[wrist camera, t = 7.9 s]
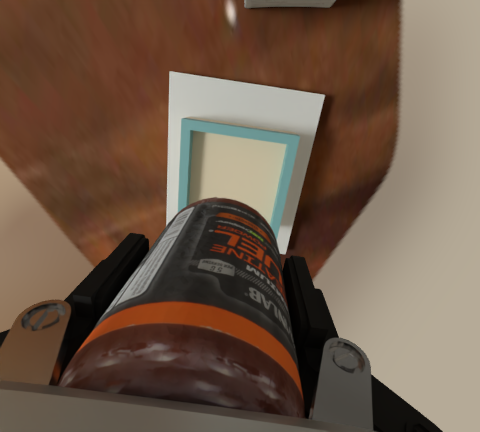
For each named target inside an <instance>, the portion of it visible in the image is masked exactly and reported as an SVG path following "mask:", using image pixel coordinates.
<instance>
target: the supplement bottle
mask: <svg viewBox="0 0 480 432" xmlns="http://www.w3.org/2000/svg"><path fill="white" fill-rule="evenodd" d="M57 386H59V387H67V388H75V389H83V390H91V391H99V392H107V393H115V394H124V395H131V396H139V397H147V398H155V399H163V400H170V401H178V402H186V403H193V404H201V405H209V406H216V407H224V408H231V409H239V410H246V411H253V412H261V413H268V414H276V415H283V416H290V417H298V418H304V419H306V417H305V407H304V400H303V394H302V388H301V381H300V374H299V367H298V361H297V356H296V349H295V345H294V338H293V332H292V326H291V320H290V316H289V309H288V304H287V298H286V292H285V285H284V278H283V271H282V265H281V257H280V253H279V249H278V244H277V240H276V238H275V235H274V232H273V230H272V228H271V227H270V225H269V224H268V222H267V221H266V219H265V218H264V217H263V216H262V215H261V214H260V213H259V212H258V211H257V210H255V209H253V208H252V207H250V206H248V205H247V204H244V203H242V202H239V201H236V200H232V199H227V198H217V197H213V198H207V199H202V200H199V201H197V202H194V203H192V204H190V205H188V206H186V207H185V208H183V209H182V210H181V211H179V212H178V213H177V214H176V215H175V216H174V218H173V219H172V220H171V221H170V222H169V223H168V225H167V226H166V228H165V229H164V230H163V232H162V233H161V235H160V236H159V238H158V239H157V240H156V242H155V243H154V245H153V246H152V247H151V249H150V250H149V252H148V253H147V254H146V256H145V257H144V259H143V260H142V261H141V263H140V264H139V266H138V267H137V268H136V270H135V271H134V273H133V274H132V275H131V277H130V278H129V280H128V281H127V282H126V284H125V285H124V287H123V288H122V289H121V291H120V292H119V293H118V295H117V296H116V298H115V299H114V301H113V302H112V303H111V305H110V306H109V308H108V309H107V310H106V312H105V313H104V314H103V316H102V317H101V318H100V320H99V321H98V323H97V324H96V325H95V327H94V329H93V331H92V332H91V334H90V335H89V336H88V337H87V339H86V340H85V341H84V343H83V344H82V345H81V347H80V348H79V350H78V351H77V352H76V354H75V355H74V357H73V358H72V360H71V361H70V363H69V364H68V366H67V368H66V369H65V371H64V372H63V374H62V376H61V378H60V380H59V382H58V384H57Z"/></svg>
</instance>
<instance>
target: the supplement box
mask: <svg viewBox="0 0 480 432" xmlns="http://www.w3.org/2000/svg"><path fill="white" fill-rule="evenodd" d="M244 1H245V8H257V7H326V8H329V7H331V6H332V5H333V3H334V2H335V1H336V0H244Z"/></svg>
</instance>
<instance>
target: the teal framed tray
mask: <svg viewBox="0 0 480 432" xmlns="http://www.w3.org/2000/svg"><path fill="white" fill-rule="evenodd" d="M324 97H325V95H323V94H316V93H309V92H303V91H296V90H290V89H283V88H277V87H270V86H263V85H257V84H250V83H244V82H237V81H230V80H224V79H217V78H211V77H204V76H197V75H191V74H184V73H178V72H171V71H170V76H169V124H168V173H167V221H166V226H167V225H168V223H169V222H170V221H171V220H172V219H173V218H174V216H175V215H176V214H177V213H178V212H179V211H181V210H182V209H183V208H185V207H186V206H188V205H190V204H192V203H194V202H197V201H199V200H202V199H207V198H213V197H217V198H227V199H232V200H236V201H239V202H242V203H244V204H247V205H248V206H250V207H252V208H253V209H255V210H257V211H258V212H259V213H260V214H261V215H262V216H263V217H264V218H265V219H266V221H267V222H268V224H269V225H270V227H271V228H272V230H273V232H274V235H275V238H276V240H277V244H278V249H279V253H280V254H286V251H287V247H288V243H289V239H290V234H291V230H292V226H293V222H294V218H295V214H296V210H297V206H298V202H299V198H300V194H301V190H302V186H303V182H304V178H305V174H306V170H307V166H308V162H309V158H310V154H311V150H312V146H313V142H314V138H315V134H316V130H317V126H318V122H319V118H320V114H321V110H322V105H323V101H324Z"/></svg>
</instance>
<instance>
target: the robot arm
mask: <svg viewBox="0 0 480 432" xmlns="http://www.w3.org/2000/svg"><path fill="white" fill-rule="evenodd" d="M148 252H149V240H148V239H147V238H145V236H144V235H142V234H135V233H130V234H129V235H128V236H127V237H126V238H125V239H124V240H123V241H122V242H121V243H120V244H119V246H118V247H117V248H116V249H115V250H114V251H113V252H112V253H111V254H110V255H109V256H108V257H107V258H106V259H105V260H102V261H101V262H100V263H99V264H98V265H97V266H96V267H95V268H94V269H93V271H91V273H90V274H89V275H88V276H87V277H86V278H85V279H84V280H83V281H82V282H81V283H80V284H79V285H78V286H77V287H76V288H75V290H74V291H73V292H72V293H71V294H70V295H69V296H68V297H67V298H66V299H65V300H64V301H62V300H48V301H43V302H40V303H37V304H34V305H32V306H31V307H29V308H27V309H25V310H24V311H23V312H22V313H21V314H19V316H18V317H17V318H16V320H15V322H14V323H13V325H12V327H11V329H9V330H7V331H4V332H1V333H0V432H443V431H442V430H440V429H439V428H438V427H437V426H436V425H435V424H434V423H432V422H431V421H430V420H429V419H427V418H426V417H424V416H423V415H422V414H421V413H420V412H418V411H417V410H416V409H414V408H413V407H412V406H411V405H410V404H408V403H407V402H406V401H404V400H403V399H402V398H401V397H399V396H398V395H397V394H395V393H394V392H393V391H392V390H390V389H389V388H388V387H387V386H385V385H384V384H383V383H381V382H380V381H379V380H378V379H376V378H375V377H374V376H373V375H371V367H370V362H369V360H368V358H367V356H366V354H365V353H364V352H363V351H362V350H361V348H359V347H358V346H357V345H356V344H354V343H352V342H350V341H349V340H346V339H343V338H339V336H338V334H337V331H336V328H335V326H334V323H333V320H332V317H331V315H330V312H329V309H328V307H327V304H326V301H325V298H324V296H323V293H322V291H321V290H320V289H315V288H314V285H313V282H312V279H311V276H310V273H309V270H308V267H307V264H306V261H305V258H304V257H299V256H291V257H290V258H286V260H285V264H284V268H283V278H284V285H285V292H286V298H287V304H288V309H289V316H290V320H291V326H292V332H293V338H294V345H295V349H296V356H297V361H298V367H299V374H300V381H301V388H302V394H303V400H304V407H305V417H306V419H304V418H298V417H290V416H283V415H276V414H268V413H261V412H253V411H246V410H239V409H231V408H224V407H216V406H209V405H201V404H193V403H186V402H178V401H170V400H163V399H155V398H147V397H139V396H131V395H124V394H115V393H107V392H99V391H91V390H83V389H75V388H67V387H59V386H57V384H58V382H59V380H60V378H61V376H62V374H63V372H64V371H65V369H66V368H67V366H68V364H69V363H70V361H71V360H72V358H73V357H74V355H75V354H76V352H77V351H78V350H79V348H80V347H81V345H82V344H83V343H84V341H85V340H86V339H87V337H88V336H89V335H90V334H91V332H92V331H93V329H94V327H95V325H96V324H97V323H98V321H99V320H100V318H101V317H102V316H103V314H104V313H105V312H106V310H107V309H108V308H109V306H110V305H111V303H112V302H113V301H114V299H115V298H116V296H117V295H118V293H119V292H120V291H121V289H122V288H123V287H124V285H125V284H126V282H127V281H128V280H129V278H130V277H131V275H132V274H133V273H134V271H135V270H136V268H137V267H138V266H139V264H140V263H141V261H142V260H143V259H144V257H145V256H146V254H147V253H148Z"/></svg>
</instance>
